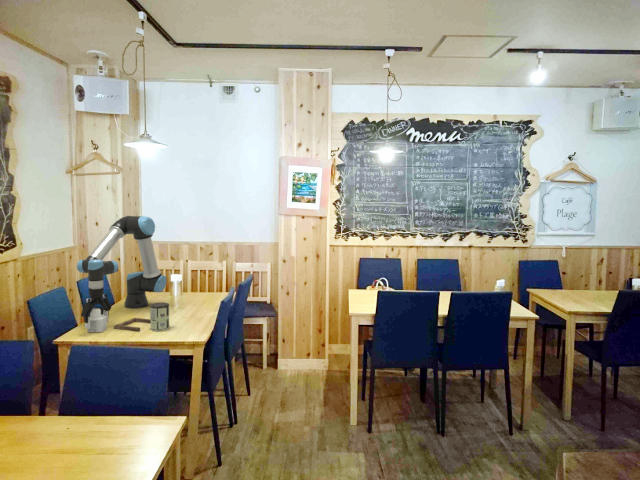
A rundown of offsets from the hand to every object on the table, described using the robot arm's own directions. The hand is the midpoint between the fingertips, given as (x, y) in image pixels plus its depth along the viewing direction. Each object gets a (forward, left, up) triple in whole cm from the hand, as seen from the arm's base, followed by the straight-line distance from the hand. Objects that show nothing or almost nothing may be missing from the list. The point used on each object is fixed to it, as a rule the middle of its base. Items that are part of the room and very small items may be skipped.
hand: (97, 325), depth 254 cm
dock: (-15, +15, -3) cm, 22 cm away
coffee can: (-15, +30, -3) cm, 34 cm away
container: (0, 0, -3) cm, 3 cm away
